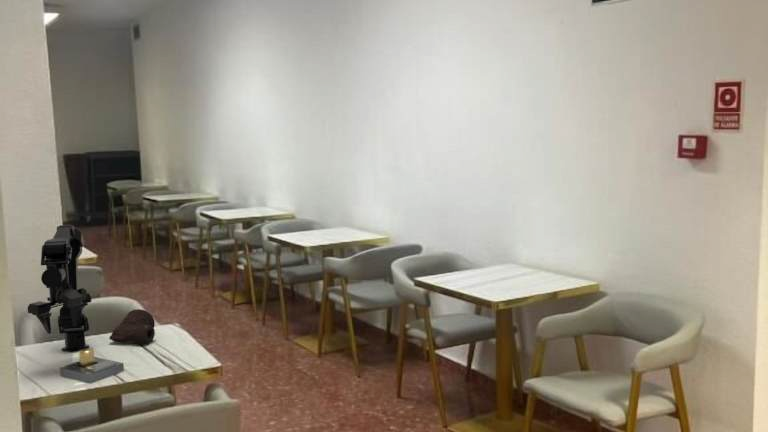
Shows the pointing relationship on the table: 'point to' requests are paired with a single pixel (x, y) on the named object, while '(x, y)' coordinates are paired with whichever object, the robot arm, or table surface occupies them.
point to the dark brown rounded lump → (135, 328)
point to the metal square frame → (92, 370)
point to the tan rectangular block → (86, 357)
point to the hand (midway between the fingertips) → (62, 329)
